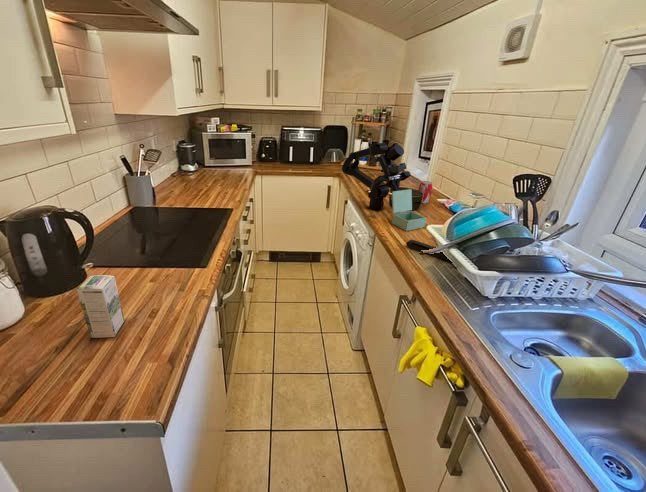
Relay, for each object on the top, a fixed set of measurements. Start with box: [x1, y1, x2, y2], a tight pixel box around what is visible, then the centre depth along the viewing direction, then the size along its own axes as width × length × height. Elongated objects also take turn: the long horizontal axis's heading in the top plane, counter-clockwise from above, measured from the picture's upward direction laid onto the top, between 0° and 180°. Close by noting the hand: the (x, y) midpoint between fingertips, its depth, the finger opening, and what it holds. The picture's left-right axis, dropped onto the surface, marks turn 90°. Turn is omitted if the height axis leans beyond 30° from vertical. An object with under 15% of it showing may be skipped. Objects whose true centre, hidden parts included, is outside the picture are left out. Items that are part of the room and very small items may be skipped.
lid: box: [391, 188, 413, 214], centre depth 144 cm, size 10×12×1 cm
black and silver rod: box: [406, 239, 452, 263], centre depth 117 cm, size 18×3×3 cm, turn 47°
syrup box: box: [76, 274, 125, 339], centre depth 73 cm, size 6×6×14 cm
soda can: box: [417, 180, 434, 205], centre depth 172 cm, size 7×7×12 cm
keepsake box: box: [391, 210, 427, 232], centre depth 142 cm, size 10×12×5 cm
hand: (398, 193), depth 146 cm, fingers closed
